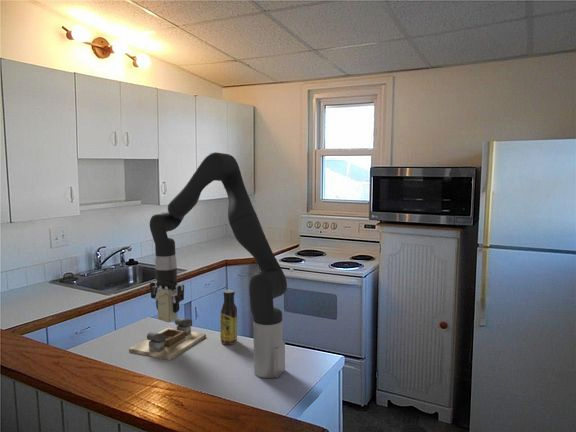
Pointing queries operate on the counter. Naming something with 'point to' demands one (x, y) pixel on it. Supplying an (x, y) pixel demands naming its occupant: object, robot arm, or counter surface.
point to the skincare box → (166, 305)
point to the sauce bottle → (228, 319)
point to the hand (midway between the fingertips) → (167, 310)
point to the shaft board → (169, 341)
